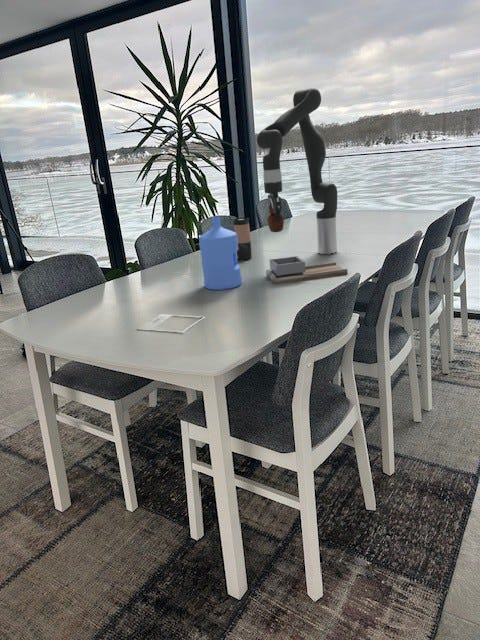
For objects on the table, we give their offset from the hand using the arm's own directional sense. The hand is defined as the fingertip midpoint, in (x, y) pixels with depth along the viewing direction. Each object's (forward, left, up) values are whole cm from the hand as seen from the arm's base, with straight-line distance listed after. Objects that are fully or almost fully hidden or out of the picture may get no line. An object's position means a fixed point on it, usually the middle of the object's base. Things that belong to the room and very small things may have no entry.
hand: (275, 220), depth 215 cm
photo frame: (+53, -50, -23) cm, 76 cm away
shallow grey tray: (+15, 0, -21) cm, 26 cm away
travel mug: (-32, -10, -22) cm, 40 cm away
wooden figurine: (0, 0, -5) cm, 5 cm away
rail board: (+15, +8, -22) cm, 28 cm away
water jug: (+13, -27, -22) cm, 37 cm away
